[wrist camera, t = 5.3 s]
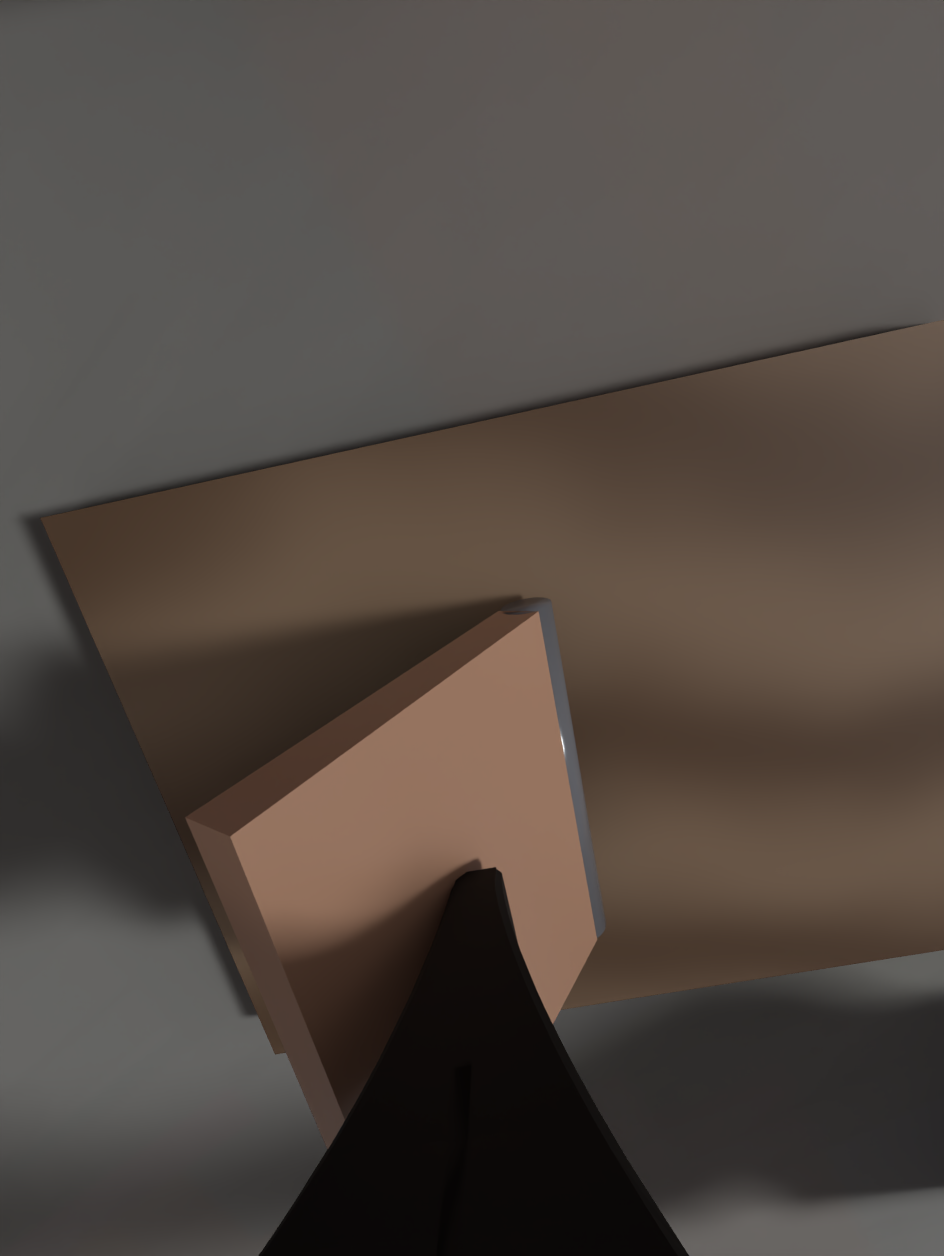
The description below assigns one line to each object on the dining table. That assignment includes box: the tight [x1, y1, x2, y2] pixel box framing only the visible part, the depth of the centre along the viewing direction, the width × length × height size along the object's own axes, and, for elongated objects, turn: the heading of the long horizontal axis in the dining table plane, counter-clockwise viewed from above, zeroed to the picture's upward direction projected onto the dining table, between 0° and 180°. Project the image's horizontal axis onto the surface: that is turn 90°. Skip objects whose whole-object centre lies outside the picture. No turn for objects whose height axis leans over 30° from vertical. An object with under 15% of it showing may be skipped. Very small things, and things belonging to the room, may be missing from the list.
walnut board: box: [41, 320, 944, 1054], centre depth 14 cm, size 15×18×1 cm
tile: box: [185, 597, 606, 1149], centre depth 10 cm, size 8×7×1 cm
